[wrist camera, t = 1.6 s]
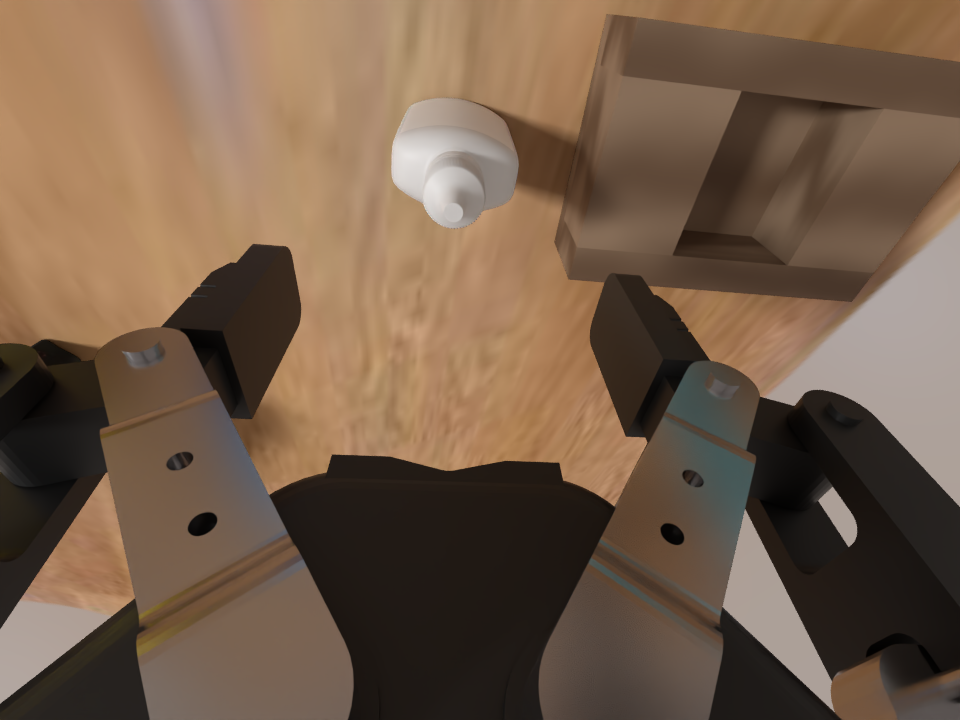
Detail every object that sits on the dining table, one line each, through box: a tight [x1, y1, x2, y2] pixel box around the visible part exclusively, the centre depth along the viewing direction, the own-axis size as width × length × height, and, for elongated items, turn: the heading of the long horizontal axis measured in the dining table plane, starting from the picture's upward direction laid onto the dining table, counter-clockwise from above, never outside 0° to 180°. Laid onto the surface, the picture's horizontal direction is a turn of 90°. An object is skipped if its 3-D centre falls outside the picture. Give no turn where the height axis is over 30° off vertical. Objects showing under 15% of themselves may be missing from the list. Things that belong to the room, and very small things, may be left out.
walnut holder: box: [555, 14, 960, 302], centre depth 24 cm, size 12×18×5 cm, turn 84°
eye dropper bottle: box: [391, 98, 519, 229], centre depth 20 cm, size 4×6×12 cm
